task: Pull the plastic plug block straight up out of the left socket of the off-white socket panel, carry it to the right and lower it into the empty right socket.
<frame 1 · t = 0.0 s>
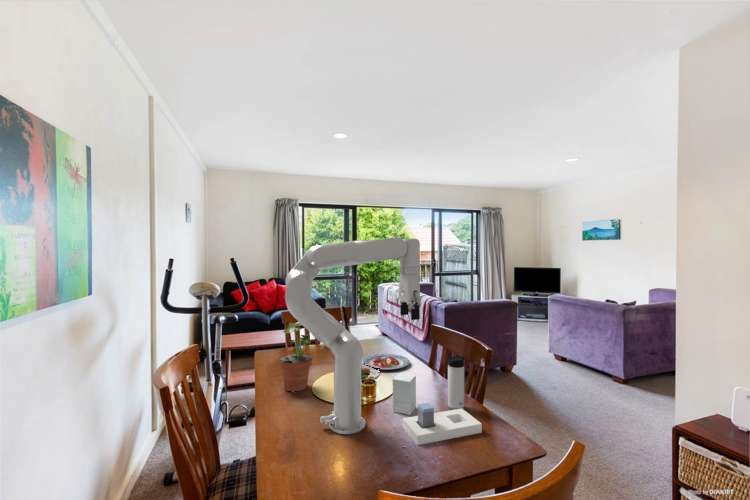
hand: (409, 317, 129), 37 cm above the table, tool pointing down, fingers open, 9 cm apart
supplement box: (404, 410, 134), on the table
travel mug: (456, 408, 135), on the table
ceramic plate: (385, 365, 188), on the table
potted plant: (295, 387, 156), on the table
socket panel: (441, 429, 118), on the table
plug: (425, 432, 117), resting in socket panel
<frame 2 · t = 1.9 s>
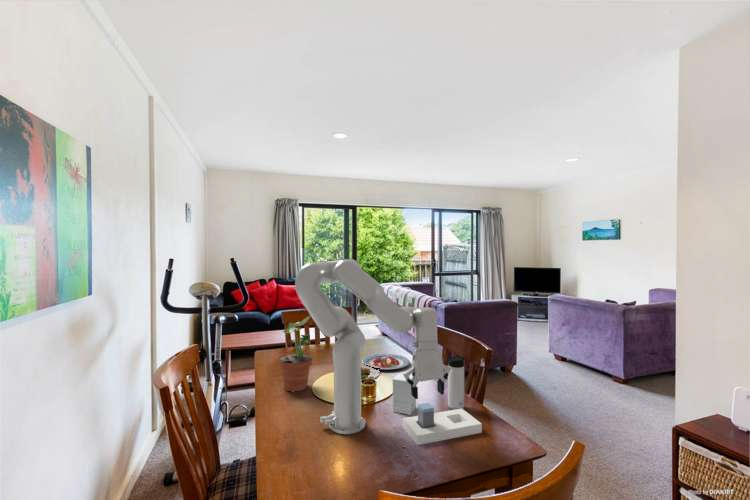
hand: (428, 395, 116), 13 cm above the table, tool pointing down, fingers open, 9 cm apart
nothing on the table moved.
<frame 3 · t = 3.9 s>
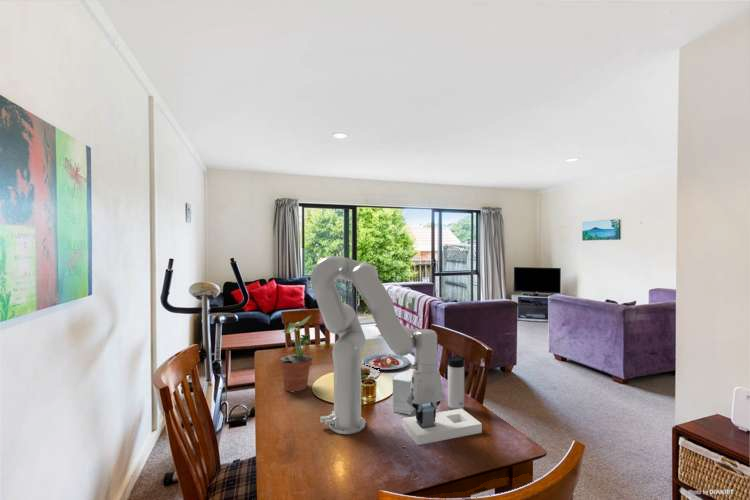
hand: (425, 420, 117), 4 cm above the table, tool pointing down, fingers closed on plug, 4 cm apart
plug: (425, 432, 116), resting in socket panel, touching gripper
everything else where it was.
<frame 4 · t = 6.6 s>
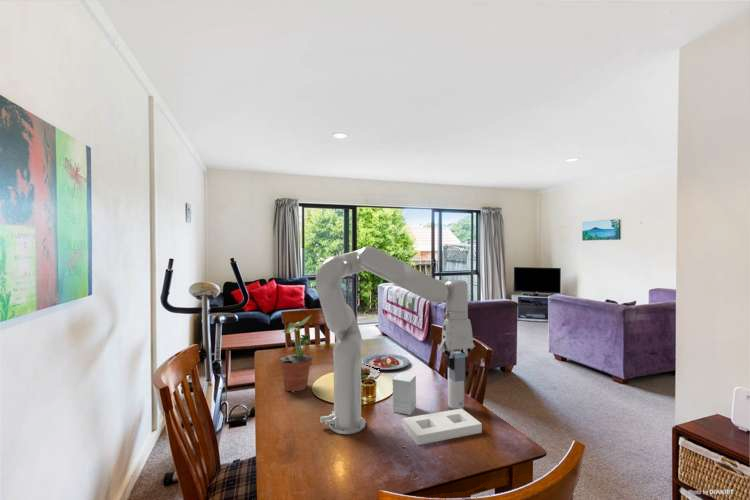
hand: (456, 367, 120), 21 cm above the table, tool pointing down, fingers closed on plug, 4 cm apart
plug: (457, 379, 120), point 17 cm above the table, touching gripper
everything else where it was.
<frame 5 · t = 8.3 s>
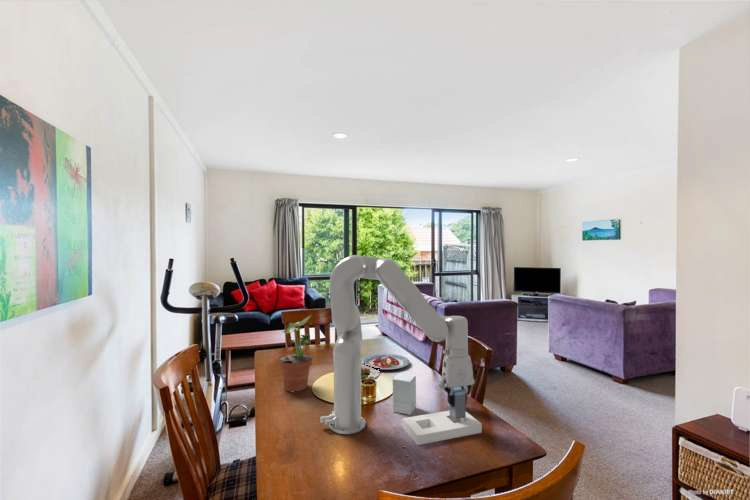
hand: (457, 403, 120), 8 cm above the table, tool pointing down, fingers closed on plug, 4 cm apart
plug: (457, 415, 120), point 4 cm above the table, touching gripper
everything else where it was.
when the fingers open (5 cm above the table, at t = 9.5 s): plug stays where it is, resting in socket panel.
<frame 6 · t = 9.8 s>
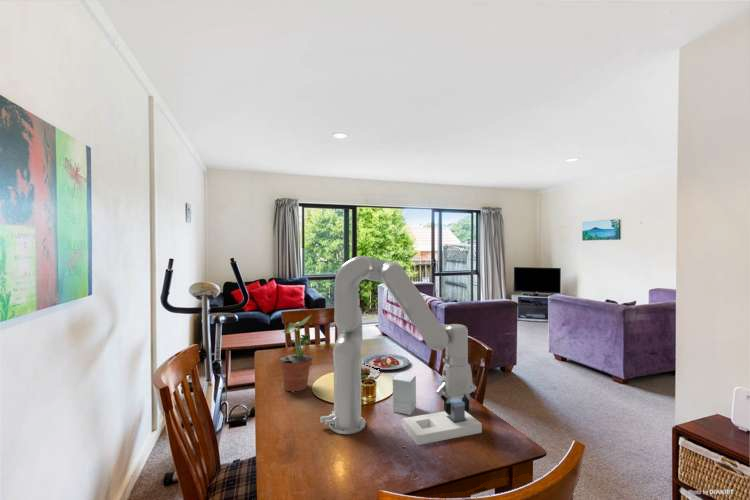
hand: (456, 411, 120), 5 cm above the table, tool pointing down, fingers open, 6 cm apart
plug: (456, 427, 120), resting in socket panel
everything else where it was.
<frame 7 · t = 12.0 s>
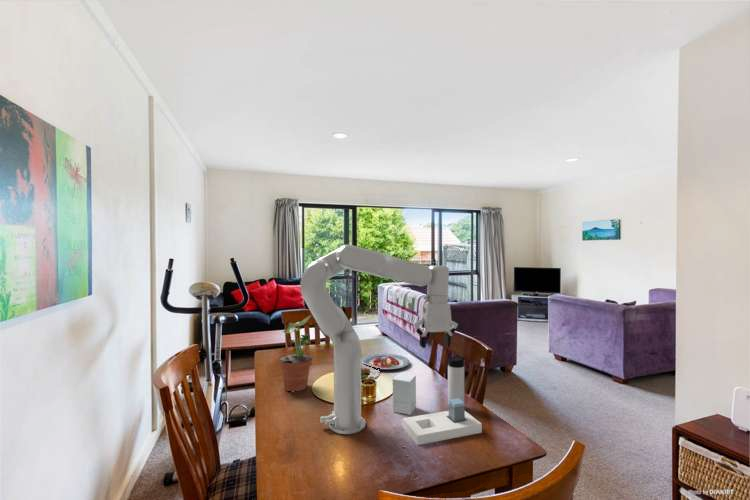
hand: (434, 346, 125), 27 cm above the table, tool pointing down, fingers open, 9 cm apart
nothing on the table moved.
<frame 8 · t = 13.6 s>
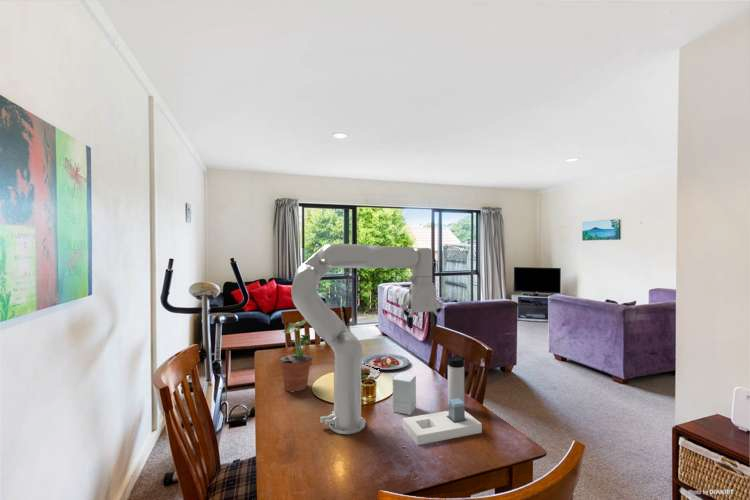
hand: (421, 326, 128), 33 cm above the table, tool pointing down, fingers open, 9 cm apart
nothing on the table moved.
at the end: plug 0.1 cm from the target spot on the socket panel, point 0.0 cm above the socket panel's base; plug tilted 0°; the gripper is holding nothing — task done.
